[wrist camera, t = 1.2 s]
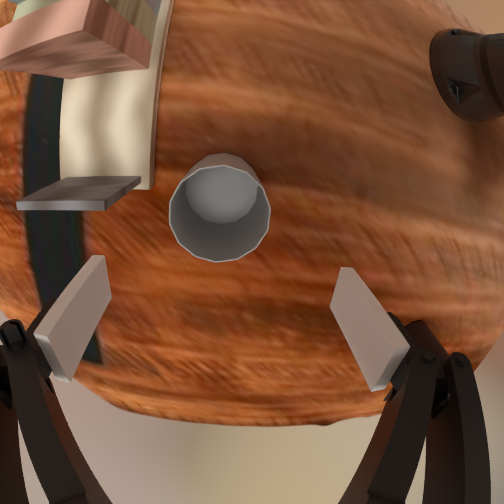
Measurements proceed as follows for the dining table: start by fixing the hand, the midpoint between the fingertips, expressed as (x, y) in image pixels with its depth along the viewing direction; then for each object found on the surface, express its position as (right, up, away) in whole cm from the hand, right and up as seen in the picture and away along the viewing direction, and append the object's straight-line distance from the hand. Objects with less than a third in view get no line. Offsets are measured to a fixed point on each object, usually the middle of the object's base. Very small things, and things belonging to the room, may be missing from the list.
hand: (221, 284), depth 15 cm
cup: (-2, +9, +17) cm, 19 cm away
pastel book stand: (-14, +21, +10) cm, 27 cm away
